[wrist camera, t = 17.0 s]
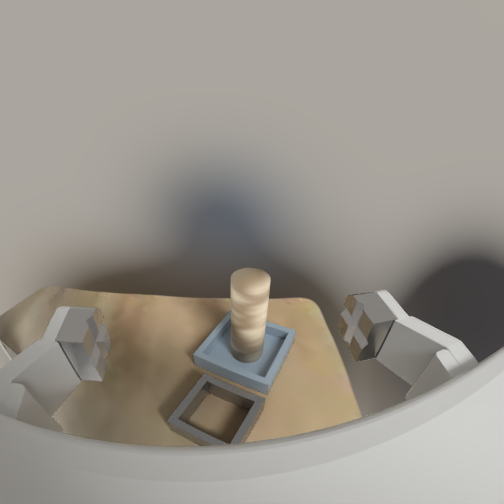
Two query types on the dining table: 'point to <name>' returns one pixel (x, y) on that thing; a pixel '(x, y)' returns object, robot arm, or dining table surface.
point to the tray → (247, 374)
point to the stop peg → (248, 313)
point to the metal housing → (222, 391)
